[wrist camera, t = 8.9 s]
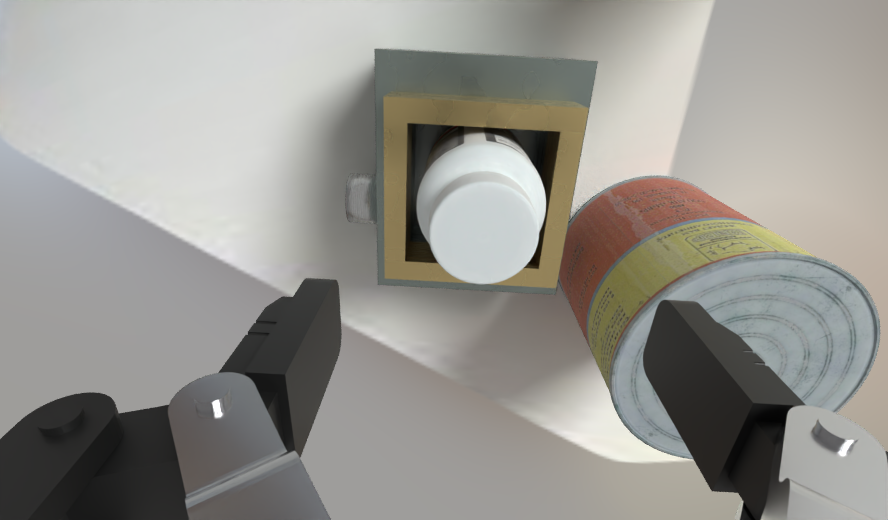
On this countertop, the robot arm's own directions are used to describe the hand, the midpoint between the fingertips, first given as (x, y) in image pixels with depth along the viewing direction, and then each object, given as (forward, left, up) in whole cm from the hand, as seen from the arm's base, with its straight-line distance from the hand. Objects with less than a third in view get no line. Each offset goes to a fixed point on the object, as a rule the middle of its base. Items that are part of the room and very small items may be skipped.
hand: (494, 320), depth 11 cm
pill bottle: (0, 0, -15) cm, 15 cm away
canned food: (+6, +12, -19) cm, 23 cm away
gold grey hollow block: (0, -1, -18) cm, 18 cm away
